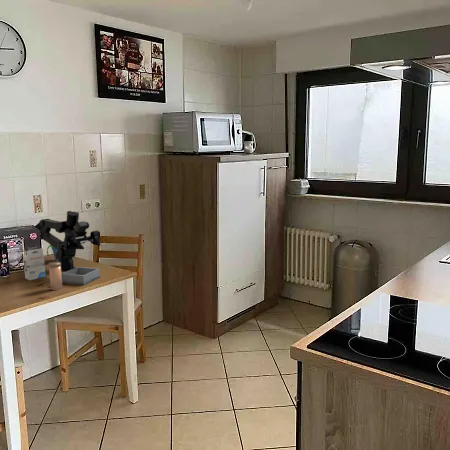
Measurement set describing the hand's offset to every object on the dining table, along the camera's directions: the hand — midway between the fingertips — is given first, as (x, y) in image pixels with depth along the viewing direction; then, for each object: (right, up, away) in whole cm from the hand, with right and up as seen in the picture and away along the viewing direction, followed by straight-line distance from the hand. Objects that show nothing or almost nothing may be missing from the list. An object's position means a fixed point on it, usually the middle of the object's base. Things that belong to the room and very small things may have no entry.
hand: (92, 246), depth 219 cm
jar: (-12, -19, -12) cm, 26 cm away
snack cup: (-28, -10, +37) cm, 47 cm away
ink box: (-29, -16, +5) cm, 34 cm away
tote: (-5, -16, 0) cm, 17 cm away
